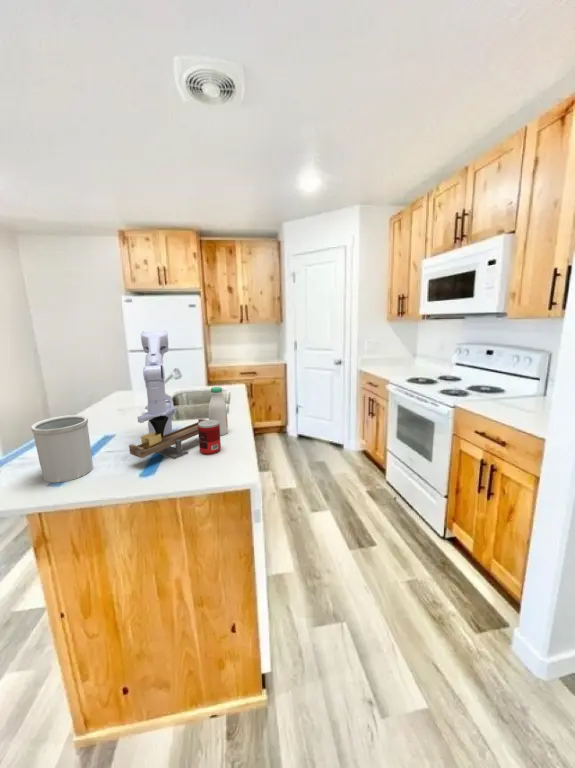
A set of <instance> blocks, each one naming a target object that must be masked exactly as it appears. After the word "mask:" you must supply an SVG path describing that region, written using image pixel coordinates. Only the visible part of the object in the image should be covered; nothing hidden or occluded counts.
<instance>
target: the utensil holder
mask: <svg viewBox="0 0 575 768" xmlns="http://www.w3.org/2000/svg"><path fill="white" fill-rule="evenodd" d="M88 423H89V417H88V416H85V415H81V414H68V415H60V416H54V417H49V418H46V419H42V420H39V421H37V422H35V423H33V424H32V425H31V427H30V428H31V432H32V433H33V438H34V443H35V447H36V452H37V457H38V461H39V466H40V470H41V474H42V479H43V480H44V481H45V482H47V483H53V484H55V483H57V484H58V483H64V482H69V481H74V480H76V478H77V479H80V478H81V476H82V477H84V476H86V475H87V474H89V473H90V472H91V471H92V470H93V468H94V465H93V454H92V448H91V447H92V446H91V441H90V433H89V425H88ZM73 479H74V480H73Z"/></svg>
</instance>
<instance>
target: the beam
mask: <svg viewBox="0 0 575 768" xmlns="http://www.w3.org/2000/svg"><path fill="white" fill-rule="evenodd" d="M204 420H206V419H204V418H198V420H197V422H195V423H192V424H189V425H186V426H184V427H182V428H179V429H177V430H174V431H172V432H171V433H168V434H166V435H163V437H161V438H162V443H161V444H158V445H156V446H154V447H151V448H149V449H146V448H143V447H142V443H139V444H137V445H136V444H133V443H130V444H128V449H129V455H131V456H135V457H138V458H141V459H143V458H146V457H149V456H151V455H153V454H157V453H156V452H158V451H160V450H163V449H165V448H167V447H170V446H171V447H173V446H174V445H176V444H175V441H176V440H181V442H183V441H184V442H185V441H186V440H188V439H191V438H193V437H195V436H197V435H198V436H199V434H198V423H199V422H201V421H204Z"/></svg>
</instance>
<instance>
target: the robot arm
mask: <svg viewBox="0 0 575 768" xmlns="http://www.w3.org/2000/svg"><path fill="white" fill-rule="evenodd" d="M168 336H169V335H168V332H167V330H161V331H160V330H156V331H155V330H153V331H144V330H143V331H141V333H140V340H141V345H142V349H143V351H144V353H145V354H146V355H145V365H144V366H145V367H143V369H142V372H143V373H142V375H143V381H144V383H145V389H146V397H147V412H146V413H144V414H141V415H139V416H137V422H138V423H140V424H143V423H145V422H147V427H148V428H147V429H148V434H149V433H151V432H157V433H161V437H163V435H166V434H168V433H171V432H173V425H172V423H173V421H172V416H174V415H175V414H176V413H177V412H178V411H177V407H176V406H175V405H174V401H173V400H174V399H173V397H172V396H171V395H170V394H168V393H166V388H165V387H166V386H165V381H166V380H165V378H166V376H165V368H164V360H163V358H164V355H165V354H166V353H168V352H169V337H168Z"/></svg>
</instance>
